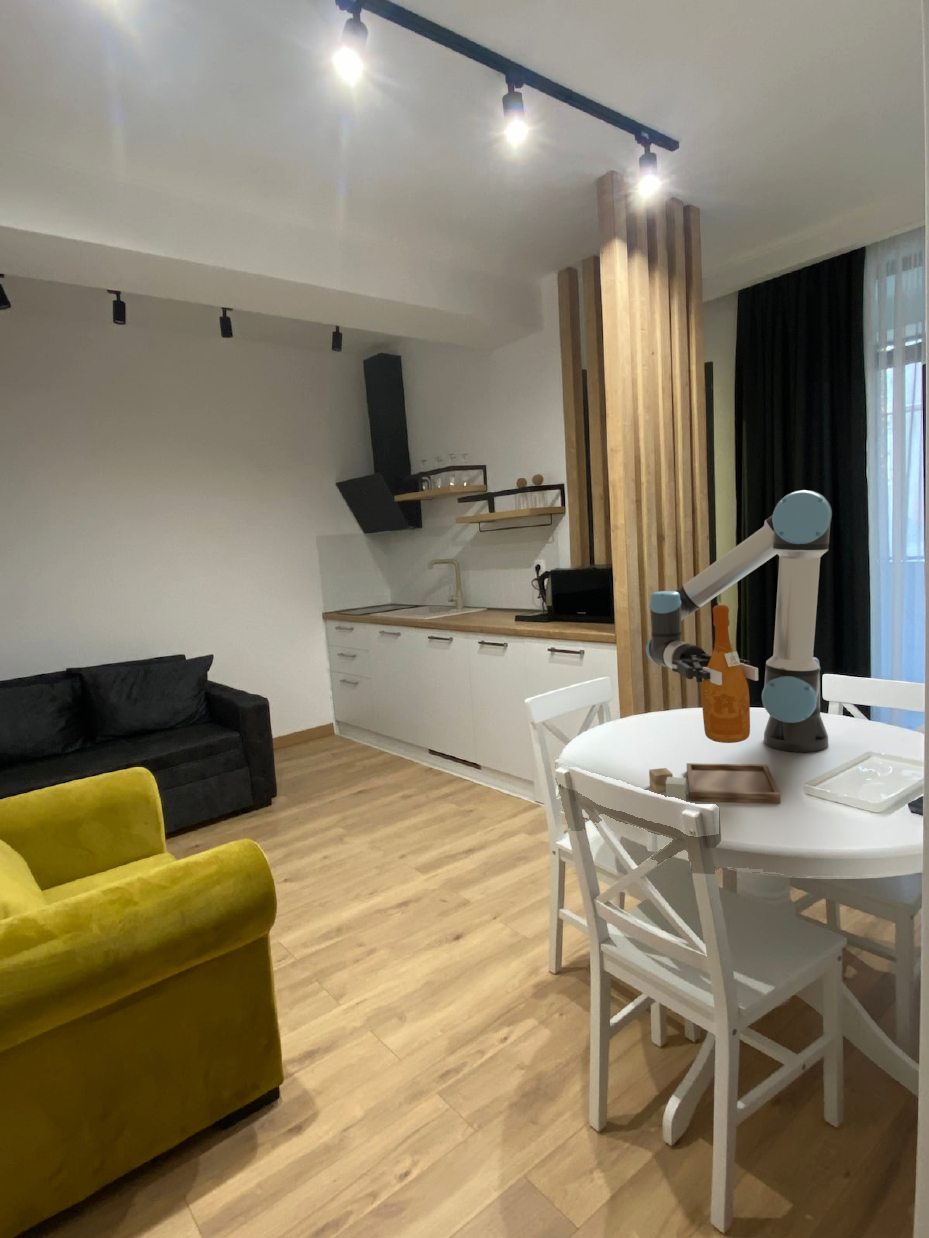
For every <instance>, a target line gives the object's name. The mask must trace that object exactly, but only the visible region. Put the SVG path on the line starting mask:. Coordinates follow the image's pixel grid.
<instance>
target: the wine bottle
mask: <svg viewBox="0 0 929 1238" xmlns="http://www.w3.org/2000/svg"><path fill="white" fill-rule="evenodd" d="M729 612H730V609H729V607H728V606H727V605H726V604H717V605H715V606H714V607H713V608H712V614H713V624H712V625H713V626H714V627H715V629H714V633H715V635H714V636H715V640H714V647H713V650H712V654H711V655H710V656H711V659H710V661H709V664H708V666H707V668H709V669H713V670H716V671H719V672H722V685H717V684H714V683H712V682H710V680H709V679H707V680H706V679H702V682H701V683H702V684H701V705H702V707H701V708H702V717H703V728H704V729H703V730H704V734H705V737H706V738H707V739H709V740H711V741H713V742H717V743H721V744H722V743H723V744H734V743H740V742H743V741H746V740H747V739H748V738H749V737H750V734H751V709H750V690H749V684H748V680H747V678H746V677H745V675H744V672H743V670H742V668H741V666H740V665H741V664H740V661H739V659H740V657H739V654H738V651H734V647H733V645H732V644H731V640H730V634H729V626H730V618H729V617H730V616H729V614H730V613H729Z"/></svg>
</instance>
